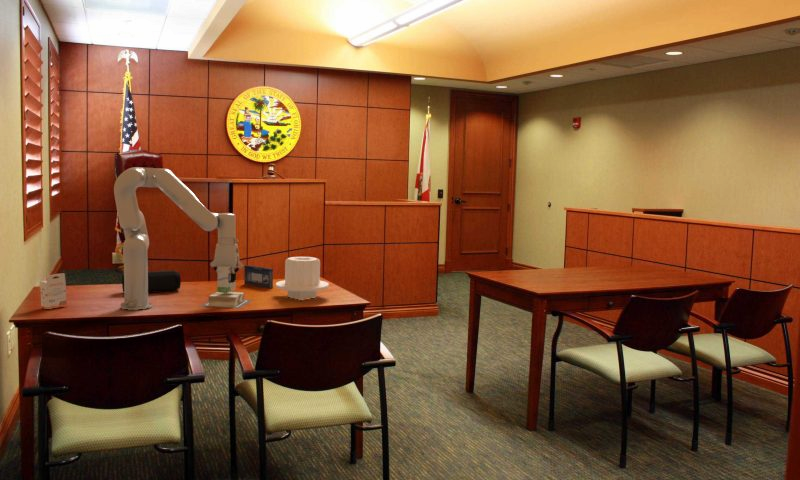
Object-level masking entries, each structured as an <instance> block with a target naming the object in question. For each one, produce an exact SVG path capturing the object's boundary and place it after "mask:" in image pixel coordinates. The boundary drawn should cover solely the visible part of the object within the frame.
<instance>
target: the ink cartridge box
mask: <svg viewBox="0 0 800 480" xmlns="http://www.w3.org/2000/svg"><path fill="white" fill-rule="evenodd" d="M55 277H56V278H55ZM45 278H46V279H45V280H41V281H40V304H41V306H45V307H51V306H58V305H65V304H66V305H67V284H66V283H67V281H66V273H64V272H61V273H55V274H48V275H46V276H45Z"/></svg>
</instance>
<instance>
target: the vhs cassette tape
mask: <svg viewBox="0 0 800 480" xmlns="http://www.w3.org/2000/svg"><path fill="white" fill-rule="evenodd" d="M243 268H244V271H243V273H244V277H243V280H244V285H248V286H252V287H253V286H254V287H260V288H265V289H269V290H270V289H273V288H274V284H273V283H274V268H269V267H262V266H256V265H249V264H246V265H243Z"/></svg>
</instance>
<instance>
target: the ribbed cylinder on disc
mask: <svg viewBox="0 0 800 480" xmlns="http://www.w3.org/2000/svg"><path fill="white" fill-rule="evenodd" d="M284 271H285V272H284V280H279V281H277V282H276V283H275V288H277V289H279V290H283V291H287V298H288V297H290V298H289V299H292V298H295V299H294V300H296V299H299V300H298V301H300V300H302V299H307V298H313V297H317V295H318V294H317V291H323V290H326V289H328V288H329V286H330V283H328V282H327V281H323V280H321V260H320V258H317V257H313V256H291V257H287V258H286V259H285V261H284ZM302 301H303V300H302Z"/></svg>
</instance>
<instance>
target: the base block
mask: <svg viewBox="0 0 800 480" xmlns="http://www.w3.org/2000/svg"><path fill="white" fill-rule="evenodd" d="M244 300H245V292H242V291H231V292H229V293H219V292H217V291H216V292H214V293H212V294H210V295H209V296H208V301H209V305H215V306H232V307H235V306H237V305H239V304H240V303H242V302H244Z"/></svg>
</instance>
